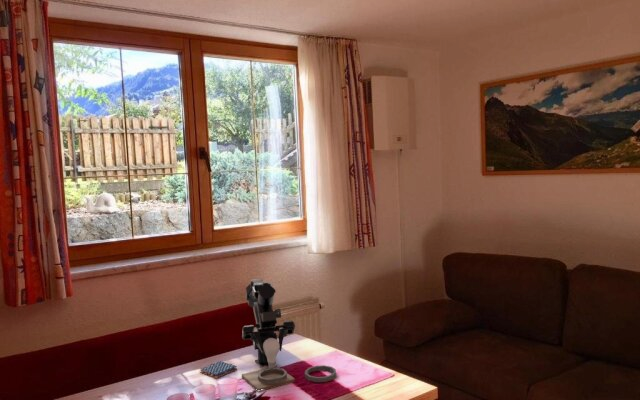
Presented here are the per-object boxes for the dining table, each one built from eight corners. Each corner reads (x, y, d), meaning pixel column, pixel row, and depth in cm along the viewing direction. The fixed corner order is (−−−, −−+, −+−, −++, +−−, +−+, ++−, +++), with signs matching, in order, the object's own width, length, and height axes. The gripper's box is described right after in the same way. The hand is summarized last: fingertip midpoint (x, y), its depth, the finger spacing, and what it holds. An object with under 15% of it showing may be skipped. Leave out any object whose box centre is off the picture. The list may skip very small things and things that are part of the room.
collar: (299, 374, 182) (299, 370, 181) (325, 367, 187) (325, 363, 187) (314, 384, 172) (314, 380, 172) (341, 377, 178) (341, 372, 177)
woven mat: (220, 364, 196) (220, 359, 196) (238, 370, 189) (238, 365, 189) (198, 373, 188) (198, 368, 188) (216, 380, 181) (216, 374, 181)
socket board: (241, 377, 181) (241, 370, 181) (276, 368, 188) (276, 361, 188) (258, 391, 168) (257, 384, 168) (294, 381, 175) (294, 374, 175)
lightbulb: (284, 368, 177) (282, 338, 176) (270, 373, 173) (269, 342, 172) (273, 363, 181) (272, 334, 181) (260, 369, 177) (258, 338, 176)
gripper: (241, 304, 177) (246, 344, 167) (292, 298, 182) (300, 338, 172) (240, 319, 185) (244, 359, 175) (289, 313, 190) (296, 352, 180)
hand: (271, 351), depth 175 cm, fingers closed on lightbulb, 6 cm apart
